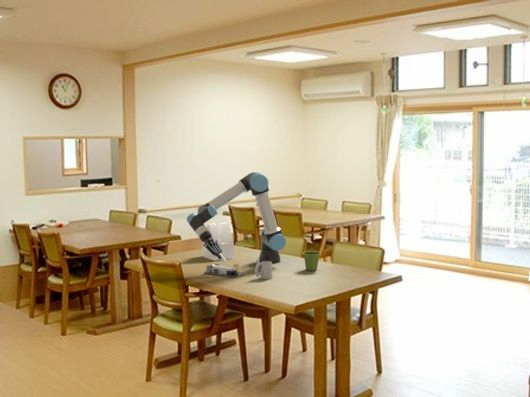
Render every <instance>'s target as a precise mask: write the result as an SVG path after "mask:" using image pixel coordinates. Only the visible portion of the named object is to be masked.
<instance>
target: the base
mask: <svg viewBox="0 0 530 397" xmlns="http://www.w3.org/2000/svg"><path fill="white" fill-rule="evenodd" d="M214 264H216V265H220V263H214ZM233 268H235V270H234V271H226V270H220V269H214V268H212V266H210V265H209V264H208V265H206V271H203V273H204V274H206V275H213V276H219V277H226V278H232V279H237V278H239V277H242V276H243V277H244V275H245V274H244V273H243V272H240V264H238V263H234V264H233Z"/></svg>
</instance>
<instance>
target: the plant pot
mask: <svg viewBox="0 0 530 397" xmlns="http://www.w3.org/2000/svg"><path fill="white" fill-rule="evenodd" d="M321 254H322V253H321V252H319V251H315V250H313V251H309V250H308V251H303V252H302V255H303V259H304V265H305V270H306V271H309V272H310V271H313V272H314V270H315V271H317V270H318V265H319V259H320V255H321Z"/></svg>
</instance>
